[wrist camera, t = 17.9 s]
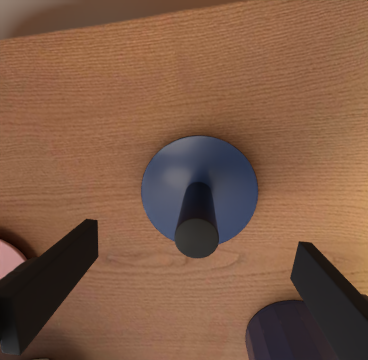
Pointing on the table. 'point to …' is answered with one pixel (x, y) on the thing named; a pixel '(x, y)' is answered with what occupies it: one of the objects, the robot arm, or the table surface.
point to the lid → (199, 193)
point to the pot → (286, 334)
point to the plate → (9, 258)
